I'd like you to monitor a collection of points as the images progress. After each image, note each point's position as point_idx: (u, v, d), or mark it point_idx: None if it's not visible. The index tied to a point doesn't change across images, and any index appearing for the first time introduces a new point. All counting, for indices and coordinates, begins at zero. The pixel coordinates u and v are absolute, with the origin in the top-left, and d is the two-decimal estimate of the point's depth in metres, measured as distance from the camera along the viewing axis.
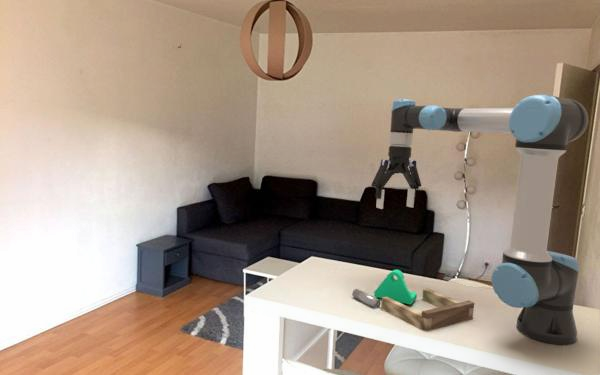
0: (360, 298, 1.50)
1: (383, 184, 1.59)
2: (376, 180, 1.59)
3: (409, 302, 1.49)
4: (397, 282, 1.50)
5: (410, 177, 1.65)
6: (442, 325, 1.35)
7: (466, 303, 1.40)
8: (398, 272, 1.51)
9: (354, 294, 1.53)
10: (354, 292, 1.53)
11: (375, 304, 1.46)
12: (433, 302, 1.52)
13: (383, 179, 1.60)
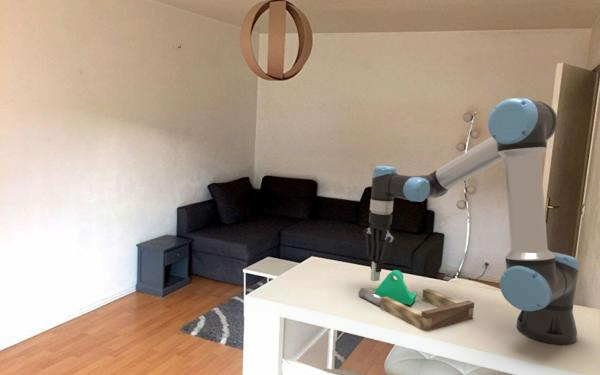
0: None
1: (371, 255, 1.62)
2: None
3: (409, 302, 1.48)
4: (397, 282, 1.50)
5: (377, 248, 1.60)
6: (442, 325, 1.35)
7: (466, 303, 1.40)
8: (398, 272, 1.50)
9: (366, 289, 1.55)
10: None
11: None
12: (433, 302, 1.52)
13: None
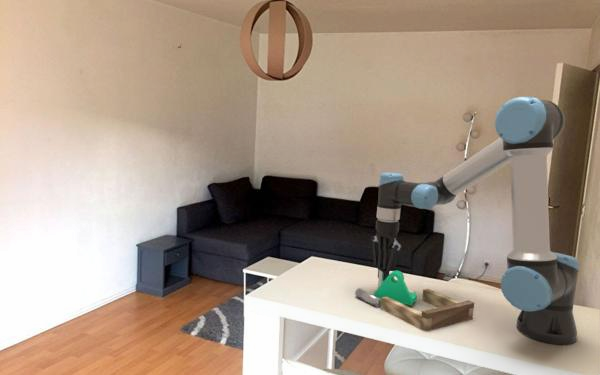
0: (364, 294, 1.51)
1: (378, 263, 1.60)
2: None
3: (409, 303, 1.48)
4: (397, 283, 1.49)
5: (384, 256, 1.57)
6: (442, 325, 1.35)
7: (466, 303, 1.40)
8: (398, 273, 1.50)
9: (359, 290, 1.54)
10: (360, 289, 1.54)
11: (378, 302, 1.47)
12: (433, 302, 1.52)
13: None
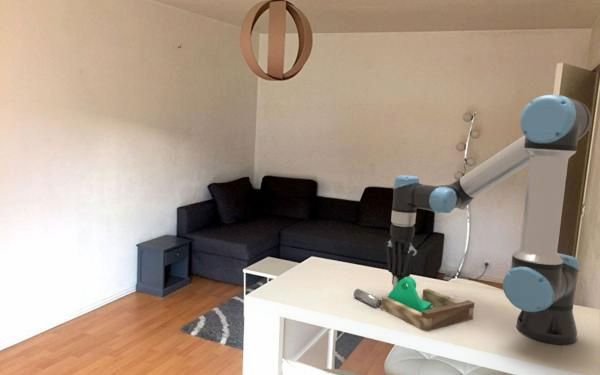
0: (362, 296, 1.51)
1: (393, 269, 1.54)
2: None
3: None
4: (407, 290, 1.43)
5: (399, 262, 1.51)
6: (442, 325, 1.35)
7: (466, 303, 1.40)
8: (409, 279, 1.43)
9: (356, 292, 1.53)
10: (357, 290, 1.54)
11: (376, 303, 1.46)
12: (433, 302, 1.52)
13: None
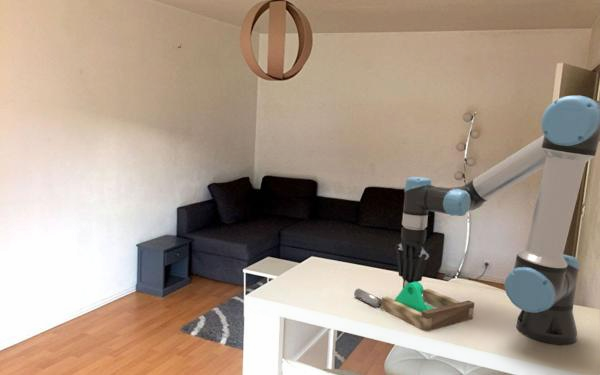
0: (363, 295, 1.51)
1: (404, 273, 1.50)
2: None
3: None
4: (413, 295, 1.39)
5: (411, 266, 1.47)
6: (442, 325, 1.35)
7: (466, 303, 1.40)
8: (415, 284, 1.39)
9: (357, 291, 1.53)
10: (358, 290, 1.54)
11: (377, 303, 1.46)
12: (433, 302, 1.52)
13: None
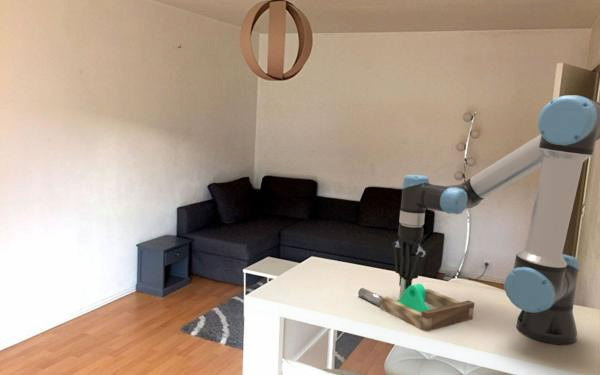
0: None
1: (400, 270, 1.51)
2: None
3: None
4: (414, 297, 1.37)
5: (407, 263, 1.48)
6: (442, 325, 1.35)
7: (466, 303, 1.40)
8: (417, 287, 1.38)
9: (365, 289, 1.55)
10: None
11: None
12: (433, 302, 1.52)
13: None
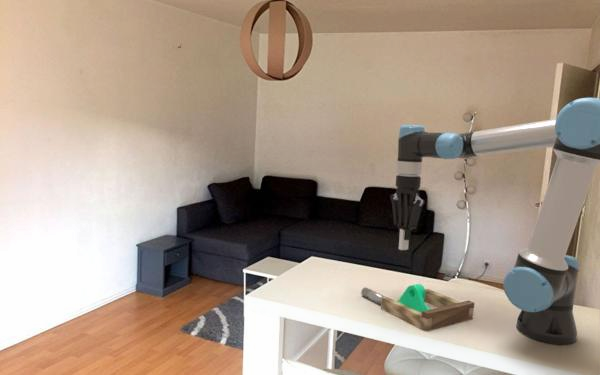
0: None
1: (399, 222, 1.51)
2: None
3: None
4: (414, 297, 1.37)
5: (405, 213, 1.49)
6: (442, 325, 1.35)
7: (466, 303, 1.40)
8: (417, 287, 1.38)
9: None
10: None
11: None
12: (433, 302, 1.52)
13: None
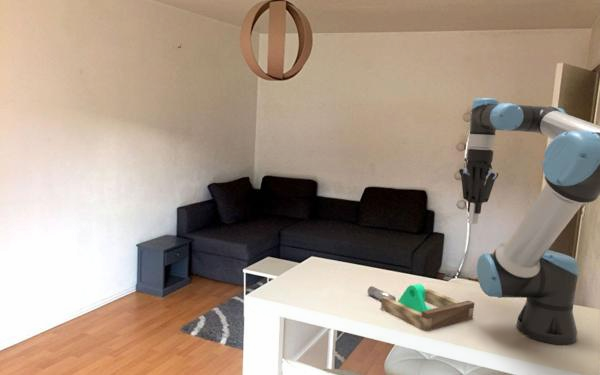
0: None
1: (469, 196, 1.51)
2: None
3: None
4: (414, 297, 1.37)
5: (477, 187, 1.49)
6: (442, 325, 1.35)
7: (466, 303, 1.40)
8: (417, 287, 1.38)
9: None
10: (370, 295, 1.57)
11: None
12: (433, 302, 1.52)
13: None
